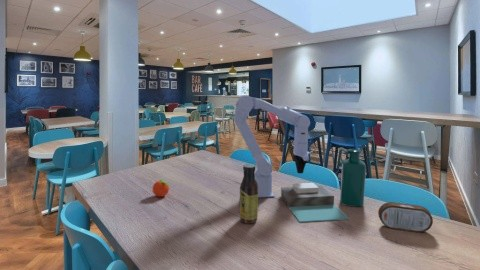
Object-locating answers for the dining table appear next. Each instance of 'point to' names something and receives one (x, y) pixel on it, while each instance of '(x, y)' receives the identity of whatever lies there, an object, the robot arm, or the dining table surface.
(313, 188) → the white block
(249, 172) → the sauce bottle
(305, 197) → the grey flat block
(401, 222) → the tin
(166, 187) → the clementine
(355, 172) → the green bottle
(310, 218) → the mat
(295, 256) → the dining table surface
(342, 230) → the dining table surface
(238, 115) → the robot arm
